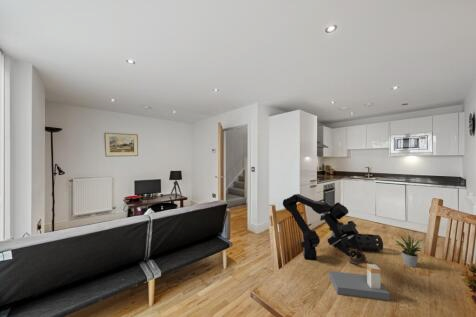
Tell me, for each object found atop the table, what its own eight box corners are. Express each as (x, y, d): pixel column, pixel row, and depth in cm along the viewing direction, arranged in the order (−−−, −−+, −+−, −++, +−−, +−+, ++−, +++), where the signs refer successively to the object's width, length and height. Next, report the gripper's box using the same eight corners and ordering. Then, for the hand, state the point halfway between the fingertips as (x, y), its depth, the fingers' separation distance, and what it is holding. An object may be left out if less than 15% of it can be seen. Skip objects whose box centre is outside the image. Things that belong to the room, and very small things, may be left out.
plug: (371, 293, 80) (371, 268, 80) (366, 288, 84) (366, 263, 84) (380, 295, 79) (380, 269, 80) (375, 289, 83) (375, 264, 83)
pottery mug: (372, 267, 102) (369, 256, 100) (357, 274, 102) (353, 264, 100) (356, 251, 114) (353, 241, 111) (343, 258, 114) (339, 248, 111)
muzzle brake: (383, 254, 115) (383, 238, 115) (334, 250, 120) (334, 234, 120) (375, 247, 124) (375, 232, 124) (330, 243, 130) (330, 229, 130)
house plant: (414, 258, 110) (414, 230, 110) (437, 272, 96) (437, 241, 97) (388, 257, 112) (388, 229, 112) (407, 270, 98) (407, 239, 98)
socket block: (337, 294, 81) (337, 287, 81) (329, 276, 92) (329, 270, 92) (389, 300, 77) (389, 293, 77) (373, 281, 89) (373, 275, 89)
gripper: (333, 218, 89) (357, 251, 79) (354, 213, 98) (379, 242, 88) (318, 229, 95) (339, 261, 86) (340, 223, 105) (361, 251, 95)
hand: (355, 253), depth 88 cm, fingers open, 9 cm apart
